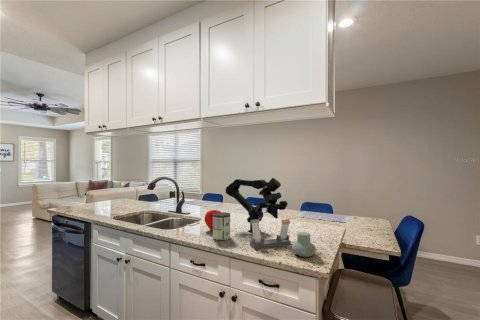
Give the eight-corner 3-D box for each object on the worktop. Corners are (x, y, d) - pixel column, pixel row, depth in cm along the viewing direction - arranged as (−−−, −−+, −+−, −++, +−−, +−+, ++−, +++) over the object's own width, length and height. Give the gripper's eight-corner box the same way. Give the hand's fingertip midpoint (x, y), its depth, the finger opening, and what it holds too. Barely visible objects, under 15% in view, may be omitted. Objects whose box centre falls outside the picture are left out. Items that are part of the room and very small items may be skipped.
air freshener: (302, 260, 106) (302, 237, 106) (289, 254, 113) (289, 233, 113) (318, 255, 112) (318, 233, 112) (304, 250, 119) (304, 230, 119)
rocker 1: (253, 242, 123) (250, 220, 127) (260, 241, 125) (257, 219, 129) (254, 242, 122) (251, 219, 126) (262, 241, 123) (258, 219, 127)
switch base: (249, 245, 125) (249, 236, 125) (284, 241, 132) (284, 233, 132) (254, 249, 119) (254, 240, 120) (290, 244, 127) (290, 236, 127)
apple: (201, 231, 151) (201, 210, 152) (209, 227, 162) (209, 207, 163) (218, 233, 148) (218, 211, 148) (225, 228, 159) (225, 208, 159)
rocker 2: (278, 238, 129) (281, 219, 126) (284, 237, 130) (288, 219, 127) (280, 240, 127) (283, 221, 124) (286, 239, 129) (290, 221, 125)
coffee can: (216, 235, 144) (216, 211, 145) (232, 236, 141) (232, 212, 142) (209, 239, 134) (209, 214, 135) (226, 241, 132) (226, 216, 132)
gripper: (257, 188, 137) (266, 210, 127) (286, 187, 144) (296, 208, 133) (252, 200, 144) (260, 222, 134) (279, 198, 151) (289, 220, 140)
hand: (276, 218), depth 135 cm, fingers closed
